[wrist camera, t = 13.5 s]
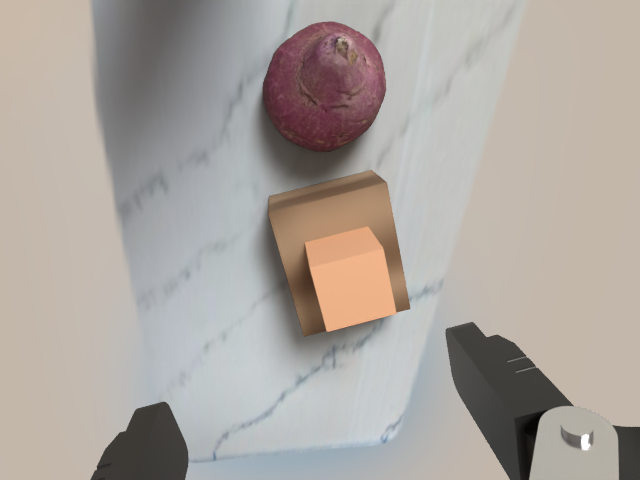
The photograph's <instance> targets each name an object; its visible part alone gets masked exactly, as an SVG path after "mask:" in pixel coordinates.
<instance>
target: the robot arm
mask: <svg viewBox="0 0 640 480" xmlns="http://www.w3.org/2000/svg"><path fill="white" fill-rule="evenodd" d="M446 340H447V346H448V352H449V359H450V366H451V372H452V377H453V380H454V384H455V386H456V389H457V391H458V393H459V395H460V397H461V399H462V401H463V402H464V404H465V405H466V407H467V409H468V410H469V412H470V414H471V415H472V417H473V419H474V420H475V422H476V424H477V425H478V427H479V429H480V430H481V432H482V434H483V435H484V437H485V439H486V440H487V442H488V443H489V445H490V447H491V448H492V450H493V452H494V453H495V455H496V457H497V459H498V460H499V462H500V463H501V465H502V467H503V468H504V470H505V472H506V473H507V475H508V477H509V478H510V480H640V427H621V426H614V425H611V423H610V422H609V421H607V420H606V419H605V418H604V417H602V416H601V415H599V414H597V413H595V412H593V411H591V410H588V409H585V408H581V407H575V406H573V405H572V404H571V402H570V401H569V400H568V399H567V398H566V397H565V396H564V395H563V394H562V393H561V392H560V391H559V390H558V389H557V388H556V387H555V385H554V384H552V382H551V381H550V380H549V379H548V378H547V377H546V376H545V375H544V374H543V373H542V372H541V371H540V370H539V369H538V368H536V366H535V364H533V362H532V361H531V360H530V359H529V358H527V357H526V355H525V354H524V353H523V352H522V351H521V350H520V349H519V347H517V346H516V344H515V343H513V342H511V341H509V340H507V339H505V338H503V337H501V336H499V335H494V336H490V337H486V336H485V335H484V334H483V333H482V332H481V330H480V329H479V328H478V327H477V326H476V325H475V324H474V323H473V322H470V323H466V324H462V325H459V326H455V327H451V328H447V329H446ZM187 468H188V450H187V446H186V443H185V440H184V438H183V436H182V433H181V431H180V429H179V427H178V424H177V422H176V420H175V418H174V415H173V413H172V411H171V409H170V407H169V405H168V404H167V403H166V402H161V403H157V404H153V405H149V406H146V407H142V408H138V409H136V410H135V412H134V414H133V416H132V418H131V420H130V423H129V425H128V428H127V430H126V431H124V432H120V433H119V434H118V436H116V438H115V439H114V440H113V441H112V442H111V443H110V445H109V446H108V447H107V448H106V449H105V451H104V453H103V455H102V457H101V459H100V461H99V463H98V465H97V470H96V471H95V472H94V474H93V476H92V478H91V480H185V477H186V472H187Z"/></svg>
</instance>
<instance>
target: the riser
mask: <svg viewBox="0 0 640 480" xmlns="http://www.w3.org/2000/svg"><path fill="white" fill-rule="evenodd" d="M268 214H269V218H270V221H271V225H272V228H273V232H274V235H275V239H276V242H277V245H278V249H279V252H280V256H281V259H282V263H283V266H284V269H285V273H286V276H287V280H288V283H289V287H290V290H291V294H292V297H293V300H294V304H295V307H296V311H297V314H298V318H299V321H300V325H301V328H302V331H303V335H304V336H308V335H312V334H316V333H320V332H324V331H327V330H326V327H325V323H324V319H323V315H322V312H321V308H320V304H319V301H318V297H317V293H316V289H315V286H314V282H313V278H312V275H311V271H310V267H309V262H308V256H307V251H306V246H305V242H309V241H313V240H317V239H321V238H325V237H329V236H332V235H336V234H340V233H344V232H348V231H352V230H356V229H359V228H363V227H367V226H368V227H369V228H370V230H371V231H372V233H373V234H374V236H375V237H376V238H377V240H378V241H379V243H380V244H381V246H382V247H383V249H384V254H385V259H386V264H387V269H388V274H389V278H390V283H391V288H392V293H393V298H394V303H395V308H396V312H400V311H404V310H408V309H410V304H409V299H408V293H407V288H406V283H405V277H404V272H403V266H402V261H401V256H400V250H399V245H398V240H397V234H396V229H395V224H394V218H393V213H392V207H391V202H390V197H389V191H388V186H387V182H385V181H384V180H383V179H382V178H381V177H379V176H378V175H377V174H376V173H375V172H373V171H372V170H370V171H366V172H362V173H358V174H354V175H350V176H346V177H343V178H339V179H335V180H331V181H327V182H323V183H319V184H315V185H311V186H307V187H303V188H300V189H296V190H292V191H288V192H284V193H280V194H276V195H272V196H269V207H268Z"/></svg>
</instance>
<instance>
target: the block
mask: <svg viewBox="0 0 640 480" xmlns="http://www.w3.org/2000/svg"><path fill="white" fill-rule="evenodd" d="M305 246H306V251H307V256H308V262H309V267H310V271H311V275H312V278H313V282H314V286H315V289H316V293H317V297H318V301H319V304H320V308H321V312H322V315H323V319H324V323H325V327H326V330H327V332H329V331H333V330H337V329H340V328H344V327H348V326H352V325H356V324H360V323H363V322H367V321H371V320H375V319H379V318H382V317H386V316H390V315H394V314H397V313H396V308H395V303H394V298H393V293H392V288H391V283H390V278H389V274H388V269H387V264H386V259H385V254H384V249H383V247H382V246H381V244H380V243H379V241H378V240H377V238H376V237H375V236H374V234H373V233H372V231H371V230H370V228H369V227H368V226H367V227H363V228H359V229H356V230H352V231H348V232H344V233H340V234H336V235H332V236H329V237H325V238H321V239H317V240H313V241H309V242H305Z"/></svg>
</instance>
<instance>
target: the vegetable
mask: <svg viewBox="0 0 640 480" xmlns="http://www.w3.org/2000/svg"><path fill="white" fill-rule="evenodd" d="M385 92H386V79H385V72H384V67H383V62H382V59H381V56H380V54H379V52H378V50H377V49H376V47H375V46H374V44H373V43H372V42H371V41H370V40H369V39H368V38H367V37H365V36H364V35H363V34H361V33H360V32H357V31H355V30H354V29H352V28H350V27H348V26H346V25H343V24H340V23H336V22H321V23H315V24H311V25H310V26H308V27H306V28H304V29H302V30H300V31H299V32H297V33H296V34H294V35H293V36H292V37H291V38H289V39H287V40H286V41H285V42H284V43H283V44H281V45H280V47H279V48H278V49H277V50H276V51H275V53H274V54H273V57H272V61H271V63H270V65H269V68H268V71H267V75H266V77H265V80H264V83H263V99H264V104H265V107H266V110H267V113H268V115H269V117H270V120H271V121H272V123H273V124H274V126H275V127H276V129H277V130H278V131H279V132H280V133H281V134H282V135H283V136H284V137H285V138H286V139H287V140H289V141H291V142H293V143H295V144H297V145H299V146H301V147H304V148H306V149H310V150H313V151H317V152H329V151H333V150H336V149H338V148H340V147H341V146H343V145H345V144H347V143H349V142H351V141H353V140H355V139H356V138H358V137H359V136H360V135H362V134H363V133H364V132H365V131H366V130H368V128H369V127H370V126H371V124H372V123H373V121H374V120H375V118H376V116H377V114H378V112H379V109H380V107H381V104H382V102H383V100H384V96H385Z"/></svg>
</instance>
